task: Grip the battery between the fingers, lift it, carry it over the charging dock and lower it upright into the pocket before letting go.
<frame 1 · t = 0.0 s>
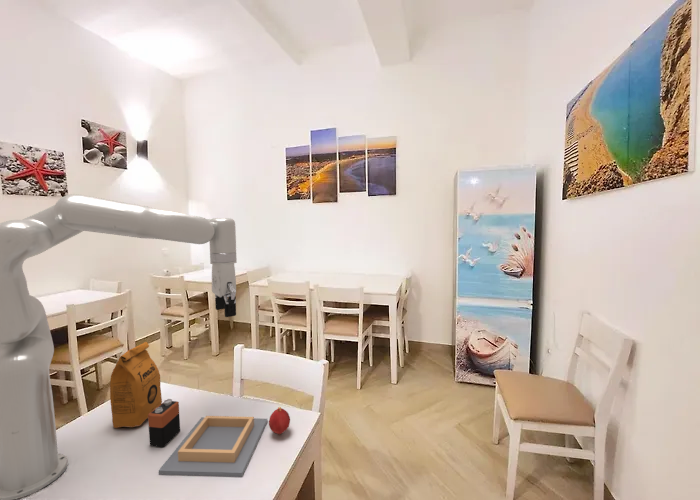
hand: (225, 312, 97), 31 cm above the table, tool pointing down, fingers open, 9 cm apart
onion: (279, 434, 88), on the table
charging dock: (219, 445, 83), on the table
coffee package: (139, 417, 95), on the table
battery: (165, 439, 86), on the table
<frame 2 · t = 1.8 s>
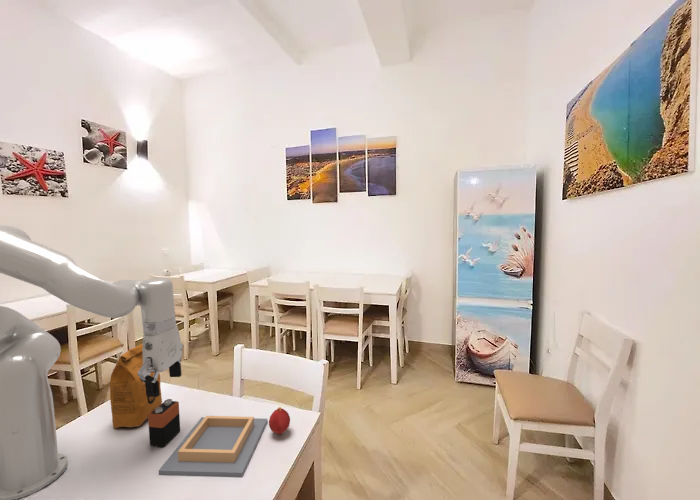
hand: (165, 385, 84), 15 cm above the table, tool pointing down, fingers open, 9 cm apart
nothing on the table moved.
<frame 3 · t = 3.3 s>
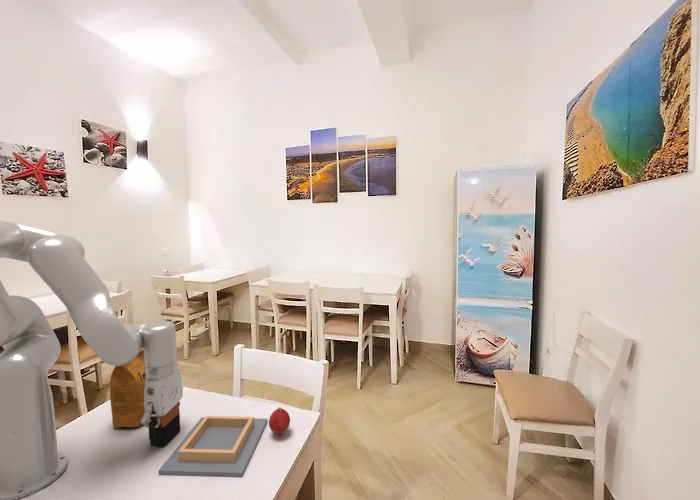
hand: (165, 429, 85), 3 cm above the table, tool pointing down, fingers closed on battery, 7 cm apart
battery: (165, 439, 86), on the table, touching gripper
everything else where it was.
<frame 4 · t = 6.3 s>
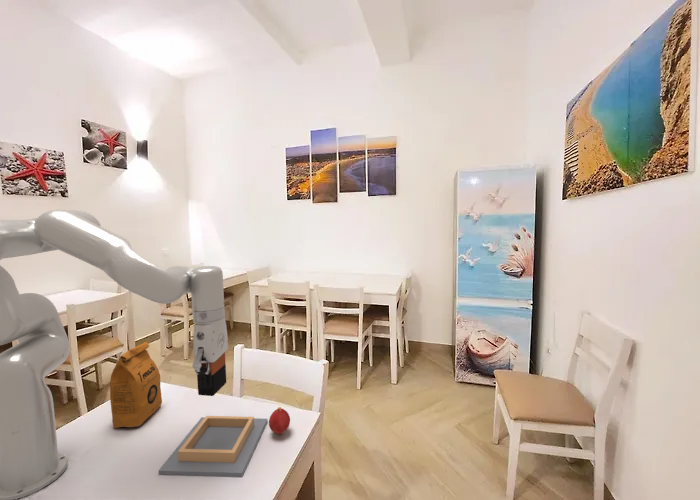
hand: (212, 379, 82), 18 cm above the table, tool pointing down, fingers closed on battery, 7 cm apart
battery: (212, 390, 82), point 15 cm above the table, touching gripper
everything else where it was.
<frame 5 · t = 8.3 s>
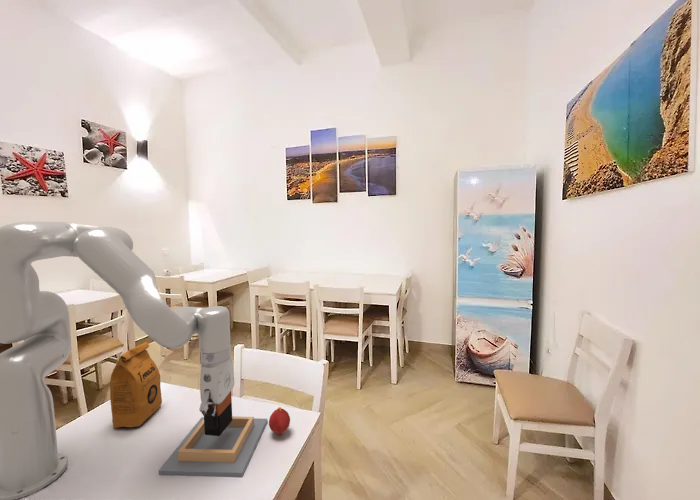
hand: (218, 418, 82), 8 cm above the table, tool pointing down, fingers closed on battery, 7 cm apart
battery: (219, 428, 83), point 5 cm above the table, touching gripper
everything else where it was.
when the fingers open (5 cm above the table, at t = 9.4 s): battery drops 1 cm, resting on charging dock.
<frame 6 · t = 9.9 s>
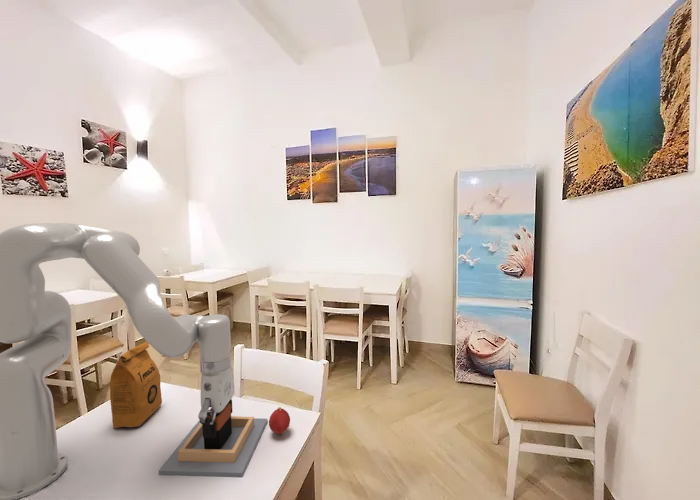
hand: (218, 424, 82), 6 cm above the table, tool pointing down, fingers open, 9 cm apart
battery: (218, 442, 83), point 1 cm above the table, touching charging dock
everything else where it was.
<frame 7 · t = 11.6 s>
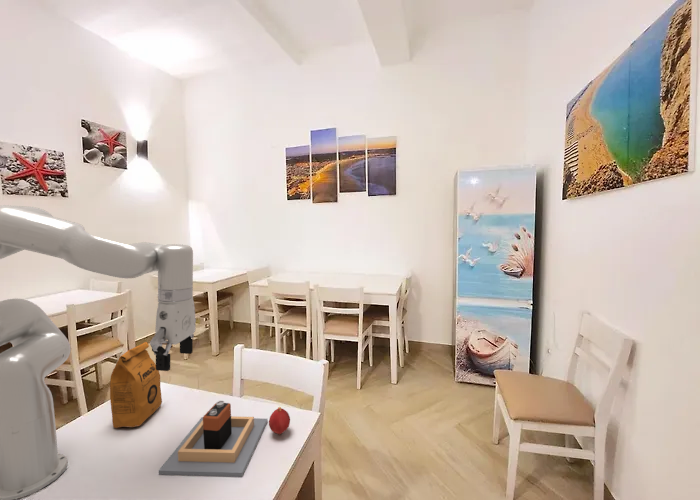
hand: (175, 361, 78), 25 cm above the table, tool pointing down, fingers open, 9 cm apart
nothing on the table moved.
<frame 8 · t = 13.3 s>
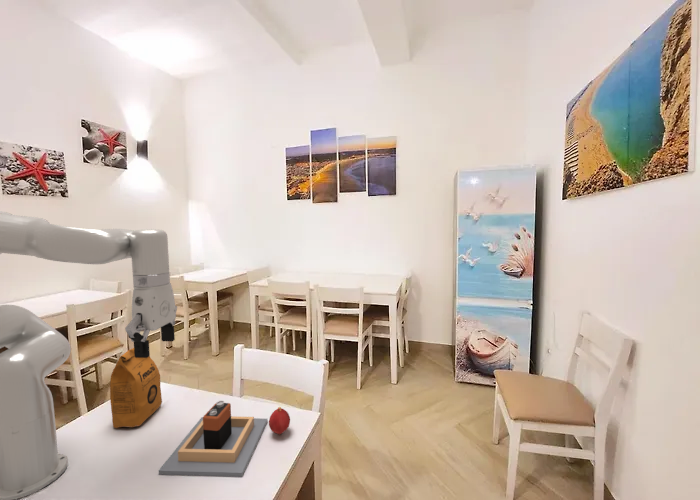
hand: (156, 348, 77), 28 cm above the table, tool pointing down, fingers open, 9 cm apart
nothing on the table moved.
at the end: battery 0.2 cm off-centre on the charging dock, point 0.8 cm above the charging dock's base; battery tilted 0°; the gripper is holding nothing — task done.
